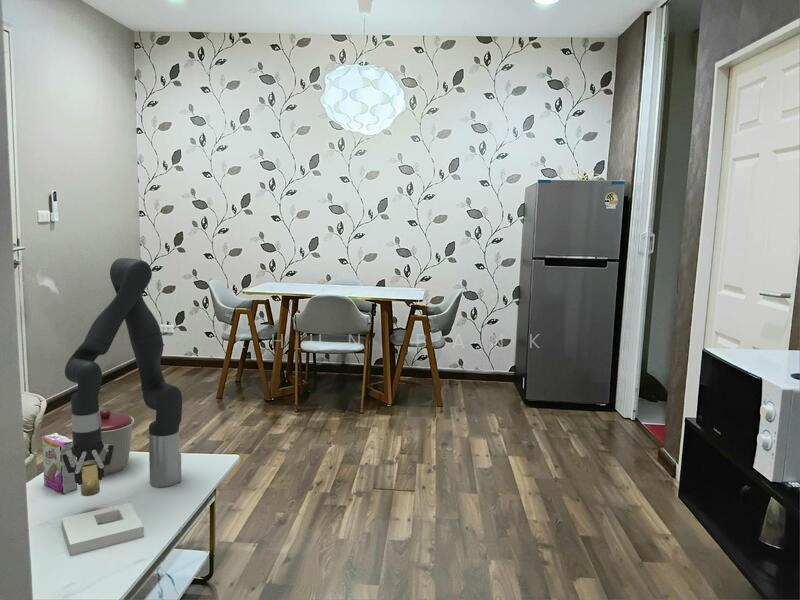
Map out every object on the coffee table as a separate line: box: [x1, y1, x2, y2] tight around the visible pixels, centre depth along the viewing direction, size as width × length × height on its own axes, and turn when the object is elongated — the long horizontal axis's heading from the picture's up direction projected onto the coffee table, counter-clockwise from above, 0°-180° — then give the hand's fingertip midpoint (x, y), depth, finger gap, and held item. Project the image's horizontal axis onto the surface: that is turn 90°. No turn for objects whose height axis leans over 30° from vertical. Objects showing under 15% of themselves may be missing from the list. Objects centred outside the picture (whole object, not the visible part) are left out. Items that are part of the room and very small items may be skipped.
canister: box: [99, 408, 135, 475], centre depth 209 cm, size 18×18×21 cm
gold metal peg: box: [79, 460, 101, 497], centre depth 181 cm, size 5×5×9 cm
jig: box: [61, 502, 145, 556], centre depth 170 cm, size 18×16×3 cm
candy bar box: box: [41, 432, 78, 495], centre depth 194 cm, size 11×5×16 cm, turn 58°
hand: (89, 481), depth 181 cm, fingers closed on gold metal peg, 5 cm apart
